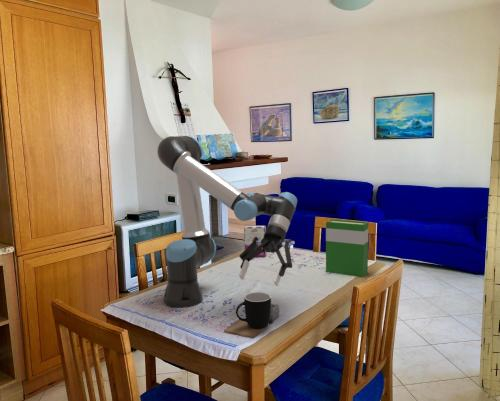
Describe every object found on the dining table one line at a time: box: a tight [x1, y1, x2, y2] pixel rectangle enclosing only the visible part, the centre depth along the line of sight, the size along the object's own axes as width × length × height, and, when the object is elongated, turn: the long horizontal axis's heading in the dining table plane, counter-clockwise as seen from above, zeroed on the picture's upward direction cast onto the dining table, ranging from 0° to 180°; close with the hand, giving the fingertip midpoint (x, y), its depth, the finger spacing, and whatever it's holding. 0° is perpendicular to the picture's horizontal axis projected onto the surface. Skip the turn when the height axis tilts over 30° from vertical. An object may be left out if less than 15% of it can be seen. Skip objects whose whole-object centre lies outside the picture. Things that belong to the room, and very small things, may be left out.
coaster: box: [223, 318, 269, 339], centre depth 149 cm, size 11×11×1 cm
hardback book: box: [325, 218, 369, 278], centre depth 206 cm, size 18×7×24 cm, turn 60°
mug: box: [235, 291, 272, 329], centre depth 149 cm, size 12×9×10 cm
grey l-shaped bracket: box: [268, 303, 280, 324], centre depth 158 cm, size 10×8×6 cm
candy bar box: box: [243, 225, 267, 258], centre depth 237 cm, size 11×5×16 cm, turn 80°
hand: (257, 280), depth 154 cm, fingers open, 13 cm apart
